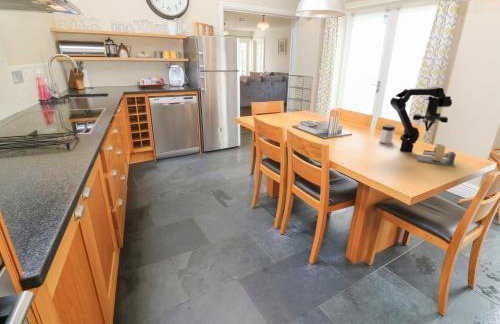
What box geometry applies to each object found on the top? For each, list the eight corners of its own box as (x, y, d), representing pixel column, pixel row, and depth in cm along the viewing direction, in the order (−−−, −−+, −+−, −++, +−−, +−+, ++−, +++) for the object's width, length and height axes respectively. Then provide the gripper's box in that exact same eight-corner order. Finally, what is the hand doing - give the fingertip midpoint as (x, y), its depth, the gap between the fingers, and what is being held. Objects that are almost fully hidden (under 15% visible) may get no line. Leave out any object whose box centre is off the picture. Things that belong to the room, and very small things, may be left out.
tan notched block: (433, 160, 163) (437, 146, 160) (432, 157, 168) (435, 143, 165) (441, 161, 161) (445, 147, 158) (439, 158, 166) (443, 144, 163)
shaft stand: (417, 161, 165) (420, 151, 162) (416, 156, 173) (418, 146, 171) (453, 166, 158) (456, 155, 155) (450, 160, 166) (453, 150, 164)
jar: (394, 142, 200) (398, 126, 196) (387, 144, 197) (390, 127, 192) (384, 139, 207) (387, 124, 203) (376, 140, 204) (379, 125, 200)
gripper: (416, 108, 172) (410, 132, 178) (451, 110, 164) (445, 136, 170) (415, 105, 181) (410, 128, 187) (449, 107, 173) (443, 131, 179)
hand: (426, 131), depth 180 cm, fingers closed
